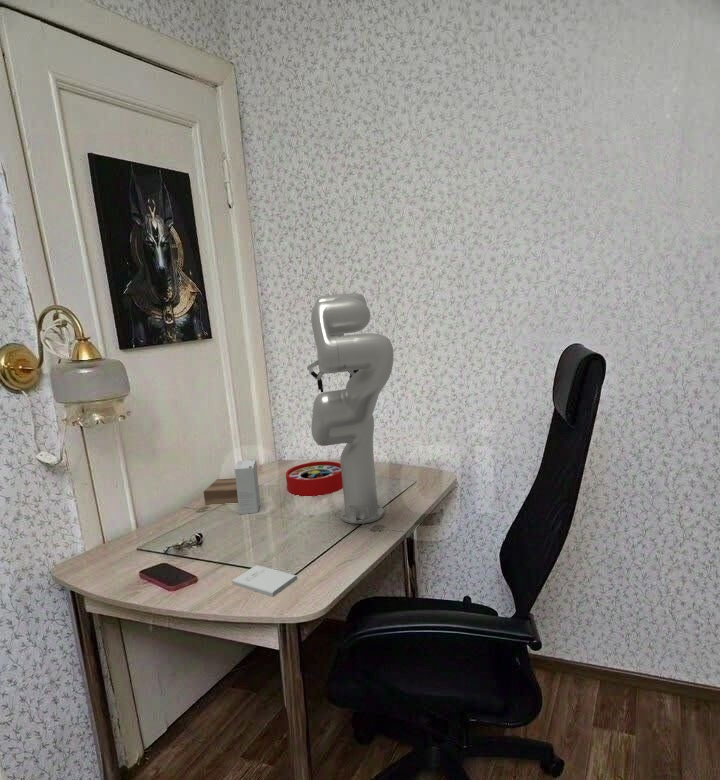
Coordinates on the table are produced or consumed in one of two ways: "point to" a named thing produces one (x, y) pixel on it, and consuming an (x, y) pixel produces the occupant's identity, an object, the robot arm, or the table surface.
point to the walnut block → (221, 492)
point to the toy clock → (314, 478)
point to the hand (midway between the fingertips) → (337, 390)
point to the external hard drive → (264, 580)
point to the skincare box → (247, 486)
